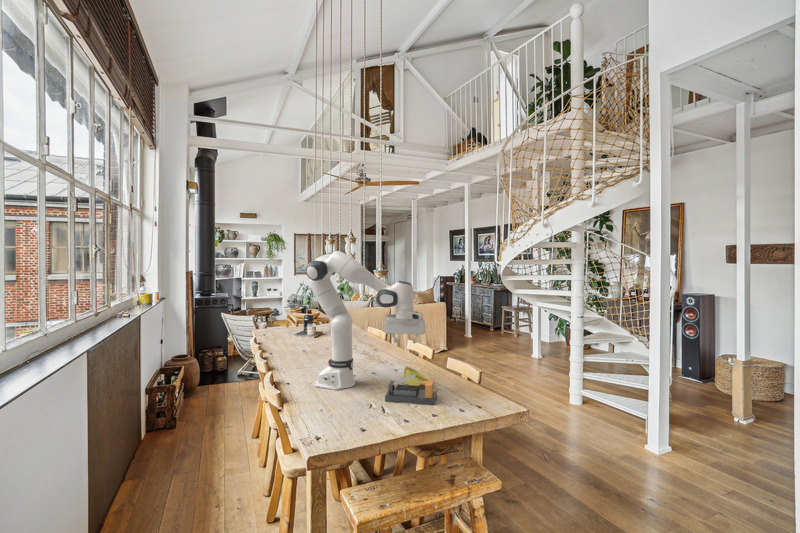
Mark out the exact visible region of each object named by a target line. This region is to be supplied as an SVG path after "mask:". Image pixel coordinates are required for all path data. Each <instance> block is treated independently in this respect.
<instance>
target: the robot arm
mask: <svg viewBox="0 0 800 533" xmlns="http://www.w3.org/2000/svg"><path fill="white" fill-rule="evenodd" d="M305 273H306V276H307V277H308V279H309V283H310V287H311V290H312V292H313V294H314V296H315V299H316V300H317V302H318V304H319V305H320V307H321V309H322V311H323V312H324V313H325V315H326V316H327V318H328V319H329V321H330V340H331V357H330V358H329V359H328V361H327V364H328V365H327V366H326V367H325V368H324V369H323V370H321V371H320V372H319V373H318V377H317V380H315V381H314V382H313V387H314V388H322V389H327V390H333V391H338V390H341V389H348V388H352V387H354V386H356V380H355V376H354V358H353V318H352V316H351V314H350V312H349V311H348V308H347V307H346V306H345V304H344V302H343V300H342V299H341V297H340V295H339V294H338V292H337V289H336V288H335V286H334V285H333V282H332V280H331V276H334V275H335V274H337V275H339V276H340V277H341V278H342V279H343V280H345V281H347V282H349V283H352V284H359V285H365V286H368V287H369V288H371V289H373V290H375V291H376V292H377V294H376V296H375V297H376V302H377V304H378V306H380V307H381V308H385V309H386V308H387V309H388V308H391V307H395V313H394V314H393V313H392V314H391V313H388V314H386V315H385V316H384V318H383V320H384V332H385V334H391V337H392V338H393V343H399V342H398V341H399V339H398V338H396V336H395V335H396V334H397V335H399V334H400V335H402V334H403V335H405V334H406V335H414V337H415V338H413V339H412V343H413V344H417V342H418V341H417V339H418V337H419V335H424V334H426V332H427V329H426V328H427V327H426V321H425V319H424V318H423V317H424V314H423V313H422V312H421V311H416V310H415V308H414V300H415V296H414V287H413V285H412V282H409V281H403V280H399V281H396V282H395V283H394V284H392V285H391V284H390V283H387V282H386V281H384V280H383V279H381V278H380V277H378V276H377V275H375V274H373V273H372V272H371V271H369V270H368V268H366V267H364V266H363V265H362V264H361V263H360V262H359V261H357V260H355V259H354V258H353V257H351V256H350V255H348V254H346V253H344V252H342V251H340V250H335V251H333V252H329V253H326V254H323V255H321V256H319V257H318V258H315V259H314V260H311V261H310V262H309V263H307V265H306V267H305Z"/></svg>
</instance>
